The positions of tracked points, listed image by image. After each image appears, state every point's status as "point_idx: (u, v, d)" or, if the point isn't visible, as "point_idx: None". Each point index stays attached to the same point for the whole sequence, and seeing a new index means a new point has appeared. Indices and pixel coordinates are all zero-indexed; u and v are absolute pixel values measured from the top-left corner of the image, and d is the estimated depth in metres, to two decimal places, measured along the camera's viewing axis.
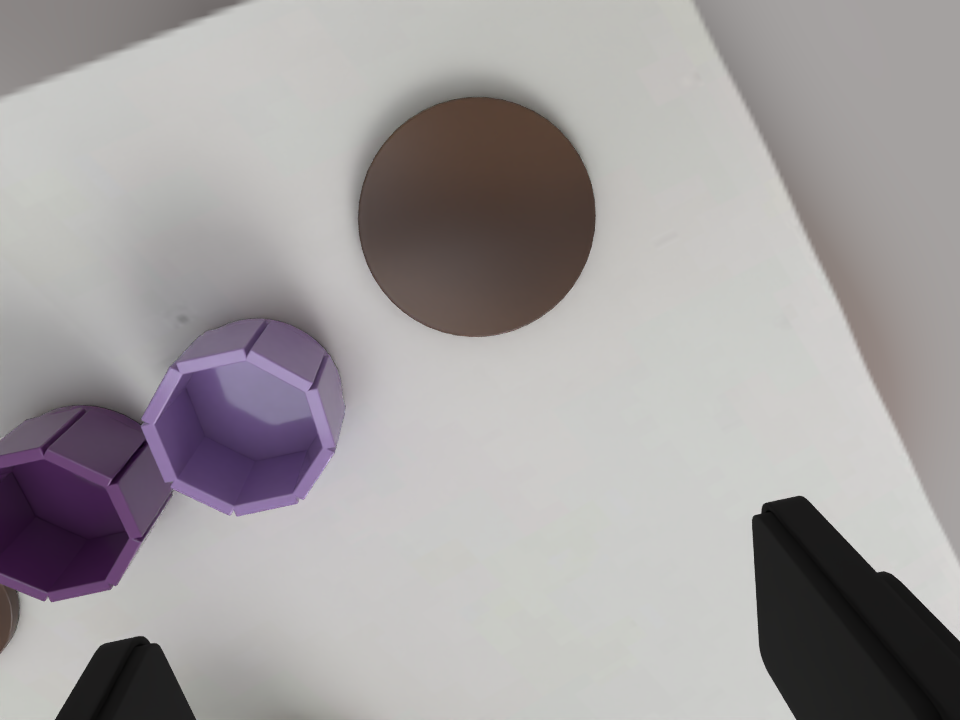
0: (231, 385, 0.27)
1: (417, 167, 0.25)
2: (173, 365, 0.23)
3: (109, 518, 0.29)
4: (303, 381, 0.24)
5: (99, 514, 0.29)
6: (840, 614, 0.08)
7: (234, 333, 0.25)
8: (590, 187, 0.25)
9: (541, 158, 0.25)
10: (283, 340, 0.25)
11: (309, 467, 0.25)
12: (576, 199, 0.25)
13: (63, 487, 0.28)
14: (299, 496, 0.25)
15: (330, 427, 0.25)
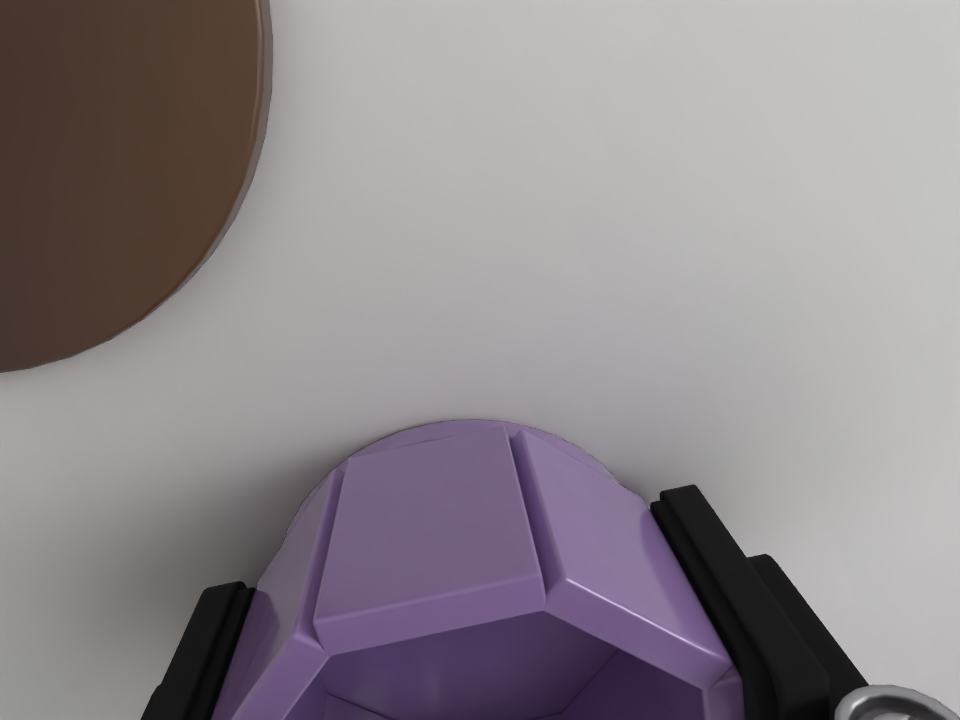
0: (436, 661, 0.12)
1: None
2: None
3: None
4: (291, 656, 0.07)
5: None
6: (706, 590, 0.09)
7: None
8: None
9: None
10: (263, 602, 0.09)
11: (615, 643, 0.07)
12: None
13: None
14: (718, 675, 0.08)
15: (469, 581, 0.07)
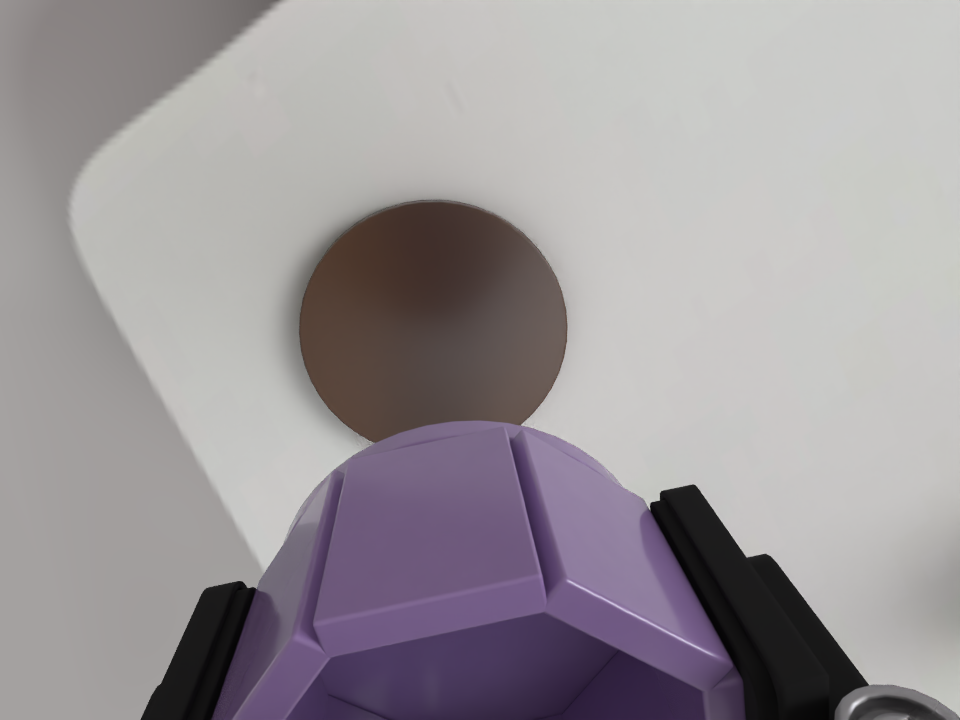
0: (436, 662, 0.12)
1: (376, 400, 0.23)
2: None
3: None
4: (291, 657, 0.07)
5: None
6: (706, 590, 0.09)
7: None
8: (389, 211, 0.21)
9: (358, 271, 0.22)
10: (263, 603, 0.09)
11: (616, 645, 0.07)
12: (403, 228, 0.21)
13: None
14: (718, 677, 0.08)
15: (470, 582, 0.07)
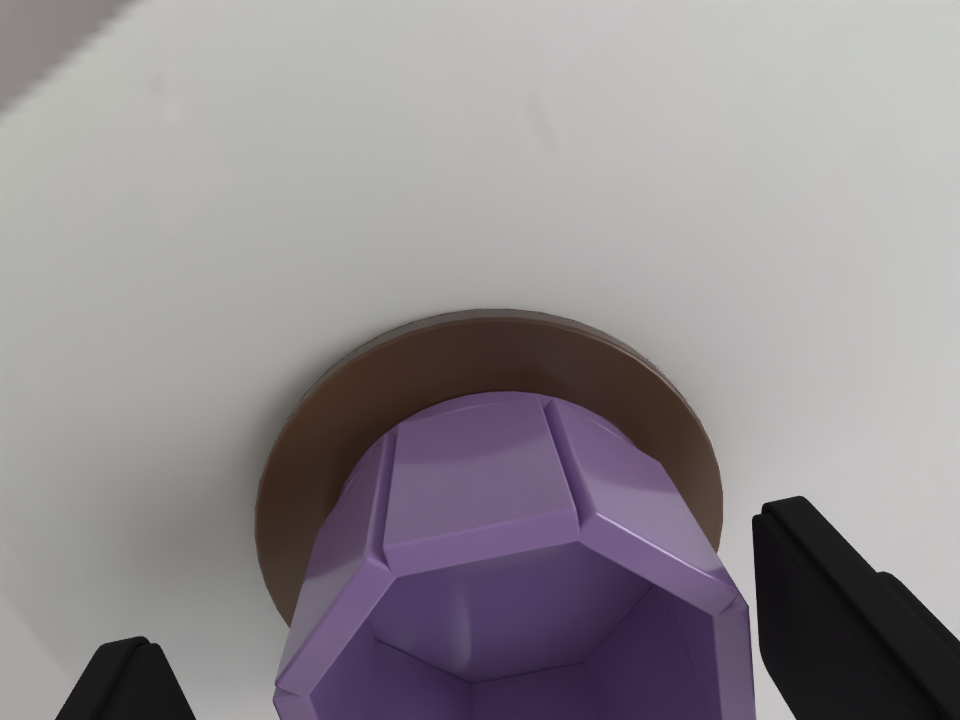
0: (472, 611, 0.13)
1: None
2: None
3: None
4: (363, 577, 0.08)
5: None
6: (840, 614, 0.08)
7: None
8: (415, 334, 0.11)
9: (359, 436, 0.12)
10: (326, 546, 0.11)
11: (638, 573, 0.09)
12: (442, 362, 0.12)
13: None
14: (726, 603, 0.09)
15: (515, 514, 0.08)
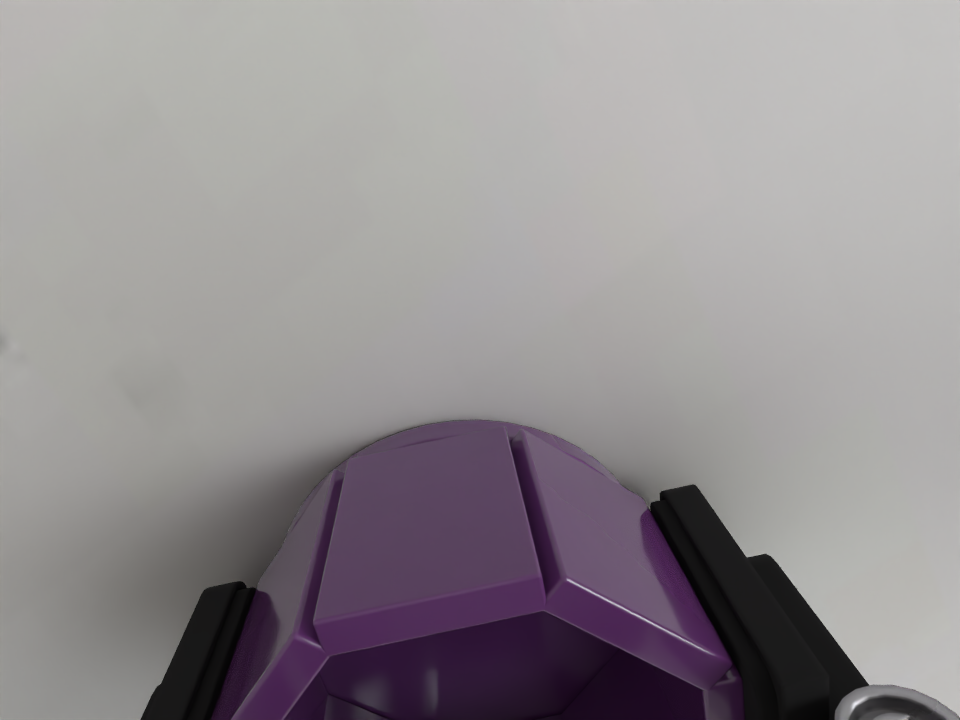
0: None
1: None
2: None
3: None
4: None
5: None
6: (706, 590, 0.09)
7: None
8: None
9: None
10: None
11: None
12: None
13: (487, 657, 0.12)
14: None
15: None
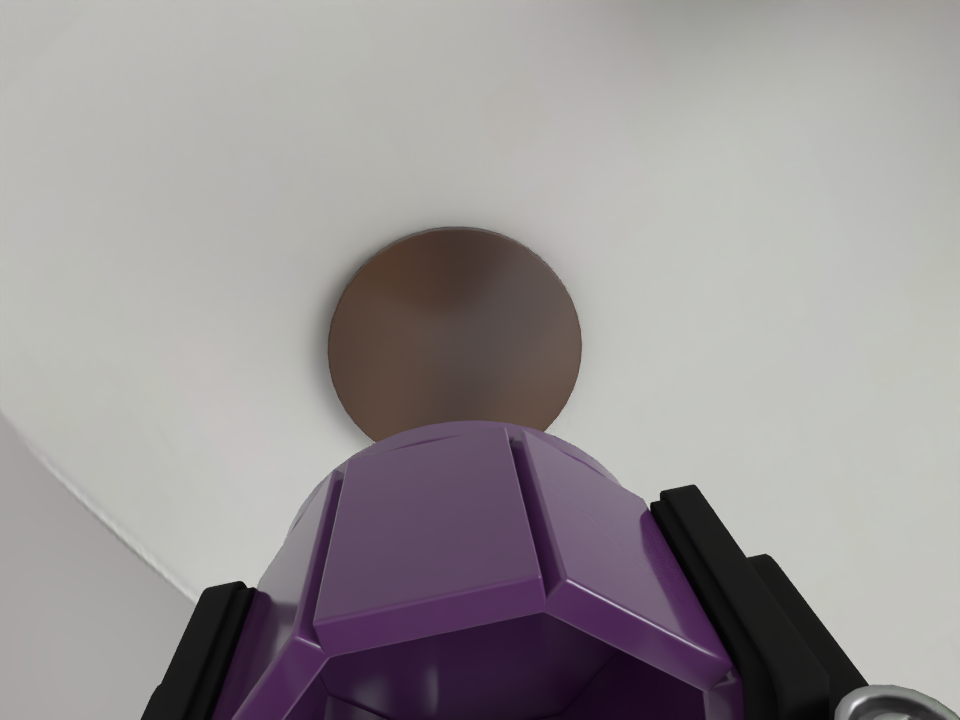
0: None
1: None
2: None
3: None
4: None
5: None
6: (706, 590, 0.09)
7: None
8: None
9: None
10: None
11: None
12: None
13: (486, 657, 0.12)
14: None
15: None
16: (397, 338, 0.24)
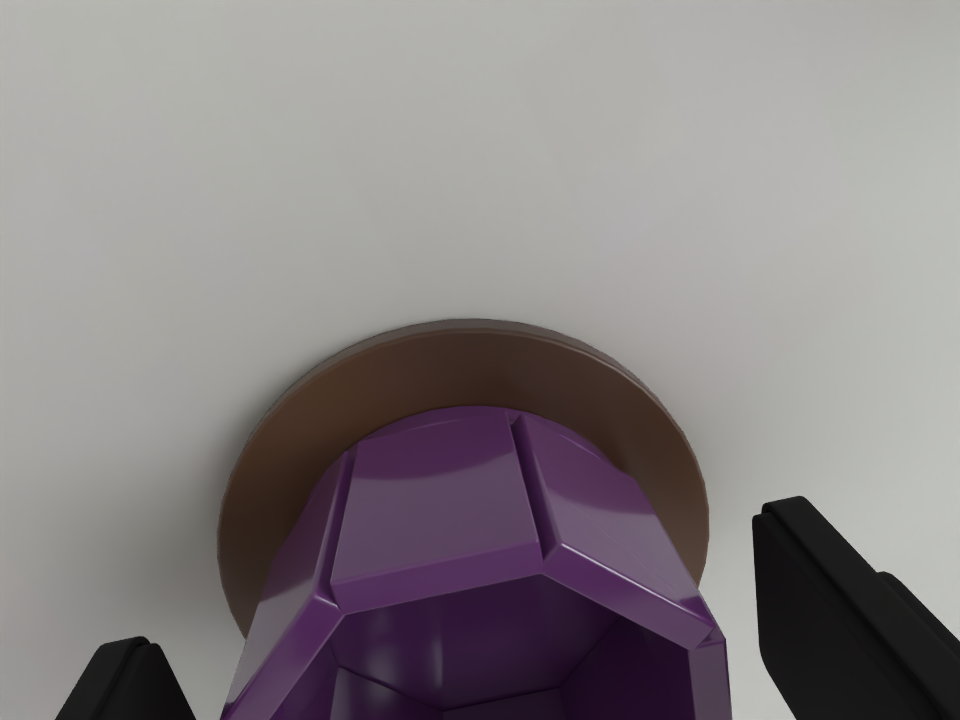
0: None
1: None
2: None
3: None
4: None
5: None
6: (840, 614, 0.08)
7: None
8: None
9: None
10: None
11: None
12: None
13: (488, 631, 0.12)
14: None
15: None
16: None
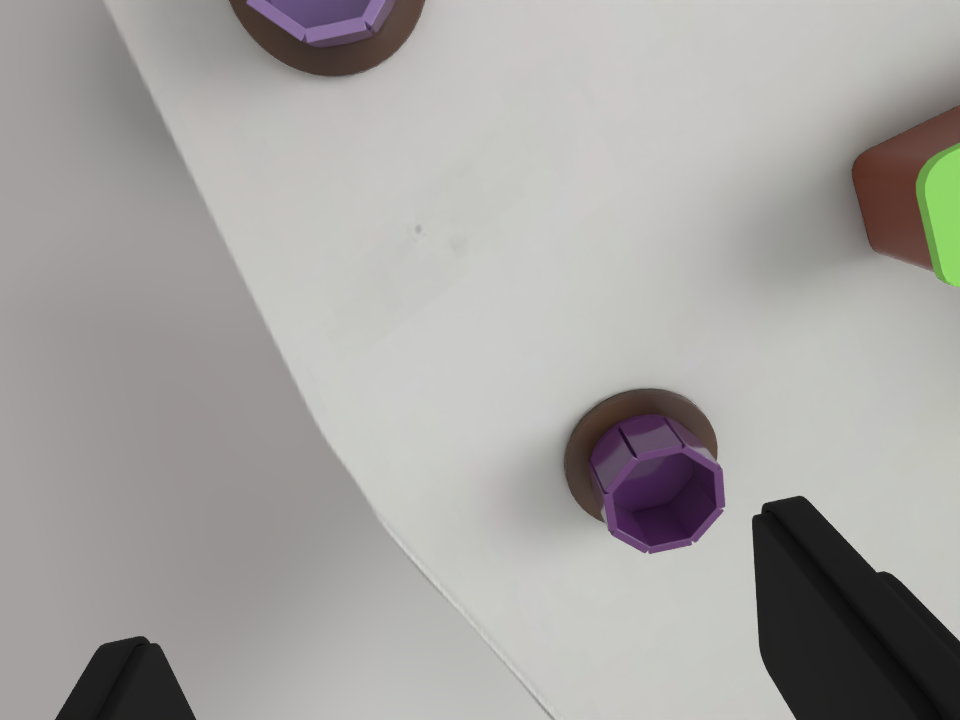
0: None
1: None
2: None
3: (678, 460, 0.39)
4: None
5: (674, 465, 0.39)
6: (840, 614, 0.08)
7: None
8: None
9: None
10: None
11: None
12: None
13: (649, 484, 0.39)
14: None
15: None
16: None
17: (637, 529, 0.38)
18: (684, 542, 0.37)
